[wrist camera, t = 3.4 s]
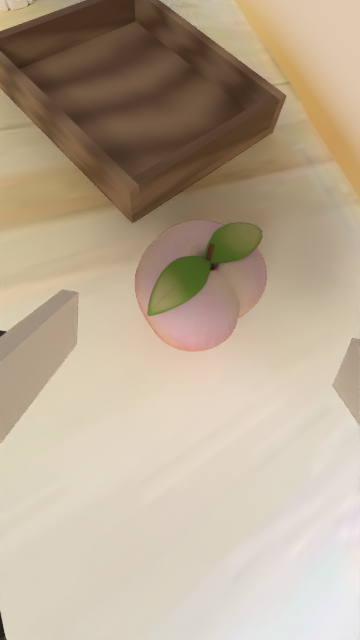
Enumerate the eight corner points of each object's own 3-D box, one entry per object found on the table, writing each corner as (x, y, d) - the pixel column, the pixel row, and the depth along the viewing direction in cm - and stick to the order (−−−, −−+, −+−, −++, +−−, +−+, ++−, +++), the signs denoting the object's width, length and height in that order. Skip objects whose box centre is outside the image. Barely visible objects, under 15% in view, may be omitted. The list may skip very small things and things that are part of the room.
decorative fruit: (186, 248, 29) (202, 156, 19) (258, 303, 27) (312, 232, 18) (114, 320, 26) (91, 251, 16) (191, 385, 24) (214, 351, 15)
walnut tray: (-5, 83, 34) (-24, 40, 31) (137, 24, 40) (135, -18, 37) (132, 223, 29) (129, 191, 25) (272, 132, 35) (286, 95, 31)
